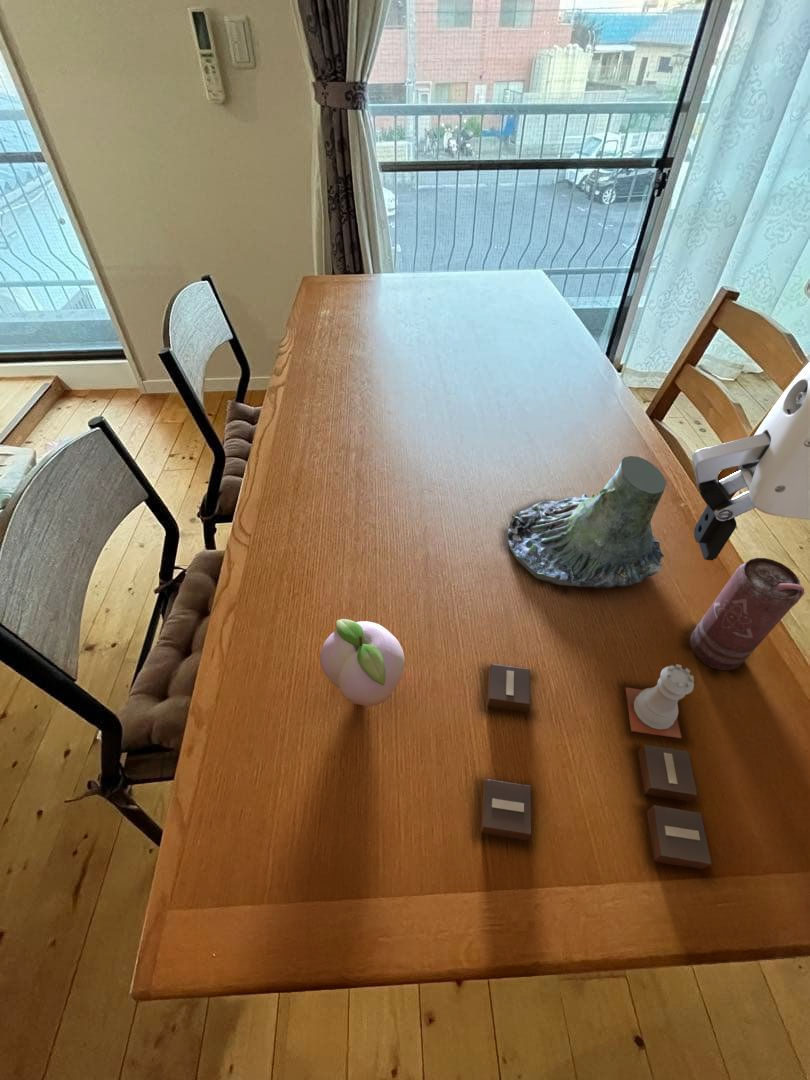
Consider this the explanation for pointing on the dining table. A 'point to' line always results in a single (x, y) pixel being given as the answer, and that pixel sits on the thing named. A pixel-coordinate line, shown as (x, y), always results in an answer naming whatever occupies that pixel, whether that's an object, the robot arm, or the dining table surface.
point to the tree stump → (594, 532)
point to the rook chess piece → (664, 697)
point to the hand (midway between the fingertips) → (769, 554)
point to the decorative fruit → (362, 661)
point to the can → (745, 613)
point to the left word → (501, 800)
